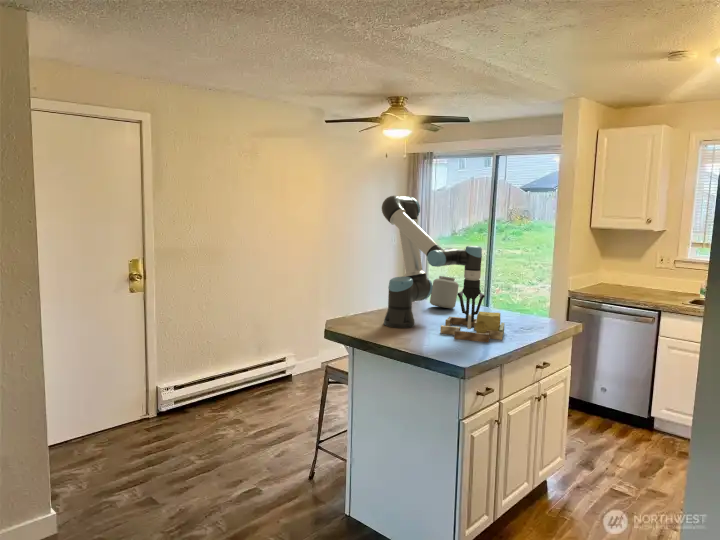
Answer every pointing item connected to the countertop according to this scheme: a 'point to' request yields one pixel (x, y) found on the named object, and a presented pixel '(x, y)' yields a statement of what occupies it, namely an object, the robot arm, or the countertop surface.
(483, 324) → the cheese
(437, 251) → the robot arm
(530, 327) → the countertop surface
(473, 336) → the trap lane
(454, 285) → the jar
